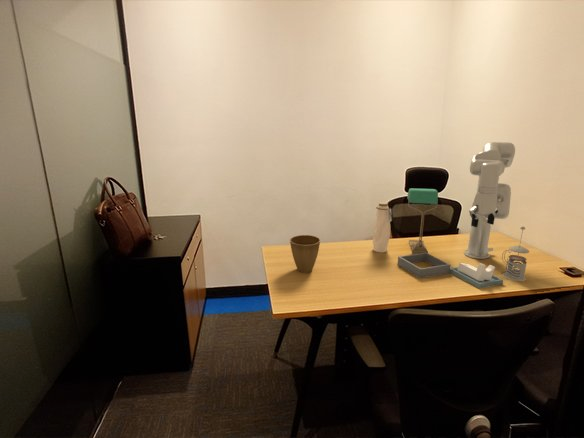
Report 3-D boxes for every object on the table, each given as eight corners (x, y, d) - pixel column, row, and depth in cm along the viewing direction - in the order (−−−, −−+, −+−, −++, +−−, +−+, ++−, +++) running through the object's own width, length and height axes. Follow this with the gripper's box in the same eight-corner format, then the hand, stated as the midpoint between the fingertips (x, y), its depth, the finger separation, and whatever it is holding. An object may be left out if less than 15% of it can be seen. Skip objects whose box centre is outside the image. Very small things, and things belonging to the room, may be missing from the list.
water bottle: (392, 249, 201) (395, 202, 193) (387, 254, 193) (391, 205, 186) (375, 246, 206) (378, 200, 199) (370, 250, 199) (372, 203, 191)
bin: (425, 260, 185) (426, 252, 183) (449, 273, 168) (450, 264, 167) (397, 264, 179) (398, 256, 178) (419, 278, 163) (420, 269, 162)
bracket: (489, 282, 158) (495, 267, 157) (478, 280, 156) (483, 265, 155) (467, 271, 170) (473, 257, 169) (457, 269, 168) (462, 255, 167)
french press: (518, 282, 158) (528, 230, 152) (494, 273, 168) (502, 224, 162) (530, 278, 162) (540, 227, 156) (506, 269, 172) (514, 221, 166)
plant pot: (288, 264, 179) (288, 235, 175) (317, 263, 181) (317, 234, 176) (291, 276, 165) (291, 245, 161) (321, 275, 166) (322, 244, 162)
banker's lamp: (405, 252, 196) (410, 192, 187) (402, 241, 215) (407, 186, 206) (434, 254, 193) (441, 193, 183) (428, 242, 212) (434, 186, 203)
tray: (470, 268, 174) (470, 264, 173) (502, 284, 157) (503, 279, 156) (448, 272, 170) (449, 268, 169) (479, 288, 152) (480, 283, 152)
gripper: (495, 186, 164) (489, 220, 169) (466, 190, 159) (461, 225, 164) (509, 189, 157) (503, 225, 162) (479, 193, 152) (474, 230, 157)
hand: (482, 225), depth 163 cm, fingers open, 9 cm apart
